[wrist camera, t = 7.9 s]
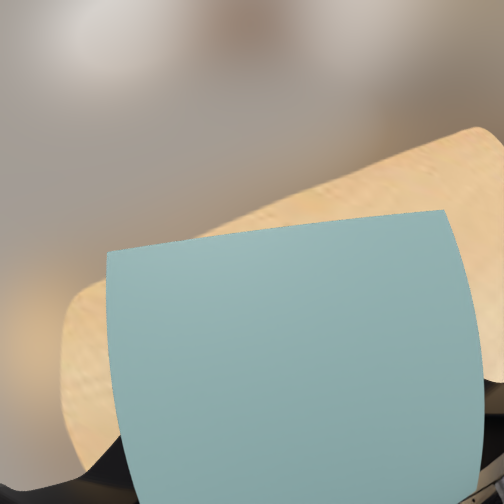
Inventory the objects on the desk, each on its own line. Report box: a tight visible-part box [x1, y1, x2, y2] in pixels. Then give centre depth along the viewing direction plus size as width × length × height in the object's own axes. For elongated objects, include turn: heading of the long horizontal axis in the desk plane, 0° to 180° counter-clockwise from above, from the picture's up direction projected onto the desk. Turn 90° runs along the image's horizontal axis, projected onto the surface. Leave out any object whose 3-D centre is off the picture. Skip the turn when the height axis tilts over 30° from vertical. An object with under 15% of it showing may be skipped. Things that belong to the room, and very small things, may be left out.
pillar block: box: [106, 210, 484, 504], centre depth 9 cm, size 5×5×13 cm
